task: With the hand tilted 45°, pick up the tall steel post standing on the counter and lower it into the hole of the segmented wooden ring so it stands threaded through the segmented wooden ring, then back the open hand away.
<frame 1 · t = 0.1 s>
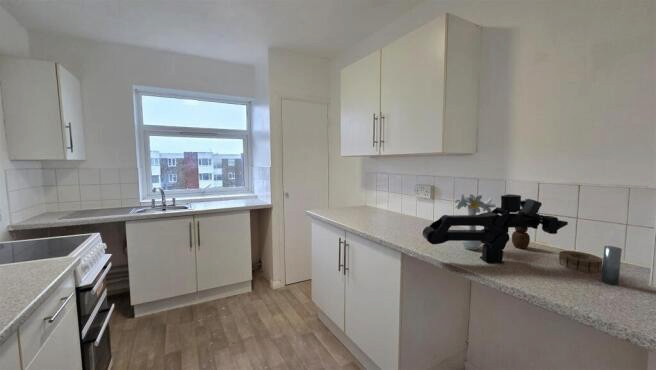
hand: (557, 220, 112), 17 cm above the worktop, tool horizontal, fingers open, 9 cm apart
wooden figurine: (520, 248, 129), on the worktop
flower vase: (471, 247, 131), on the worktop
segmented wooden ring: (579, 266, 107), on the worktop
tall steel post: (609, 282, 93), on the worktop
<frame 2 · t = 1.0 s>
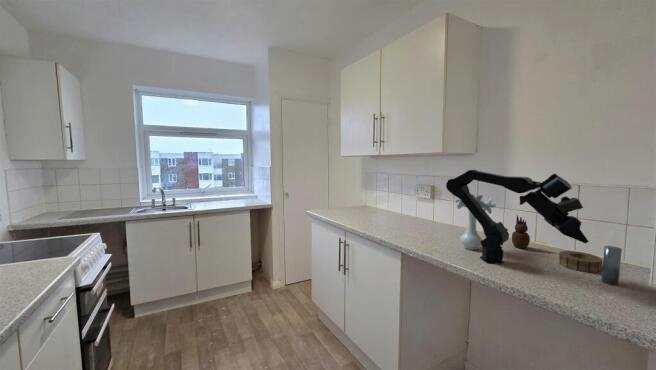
hand: (581, 238, 96), 14 cm above the worktop, tool tilted 45°, fingers open, 9 cm apart
nothing on the worktop moved.
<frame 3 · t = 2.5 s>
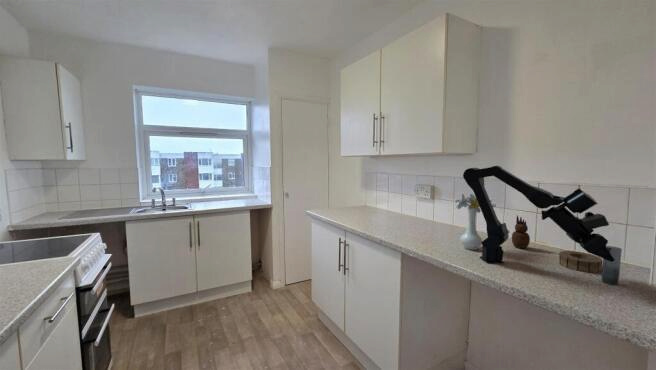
hand: (606, 256, 93), 9 cm above the worktop, tool tilted 45°, fingers open, 9 cm apart
nothing on the worktop moved.
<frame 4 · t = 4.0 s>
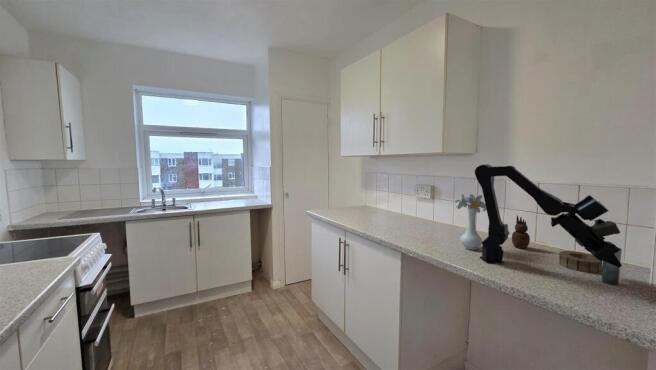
hand: (617, 264, 92), 7 cm above the worktop, tool tilted 45°, fingers closed on tall steel post, 4 cm apart
tall steel post: (609, 282, 93), on the worktop, touching gripper
everything else where it was.
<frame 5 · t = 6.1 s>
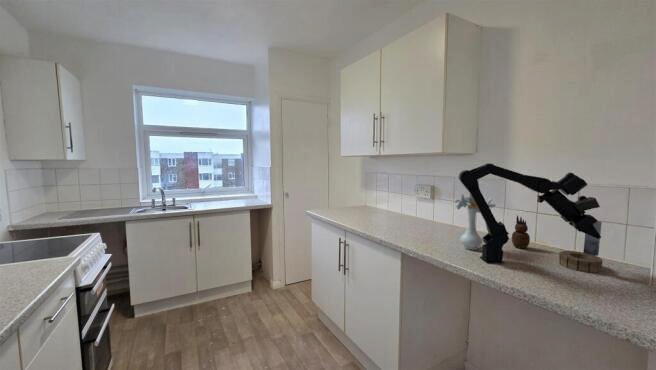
hand: (597, 236, 100), 13 cm above the worktop, tool tilted 45°, fingers closed on tall steel post, 4 cm apart
tall steel post: (590, 253, 101), point 7 cm above the worktop, touching gripper
everything else where it was.
when the fingers open (8 cm above the worktop, at t = 8.2 s): tall steel post drops 1 cm, resting in segmented wooden ring.
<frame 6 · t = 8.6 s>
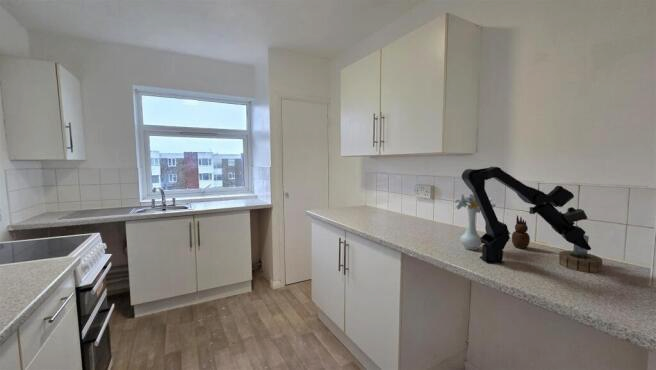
hand: (585, 246, 106), 8 cm above the worktop, tool tilted 45°, fingers open, 8 cm apart
tall steel post: (579, 266, 107), resting in segmented wooden ring
everything else where it was.
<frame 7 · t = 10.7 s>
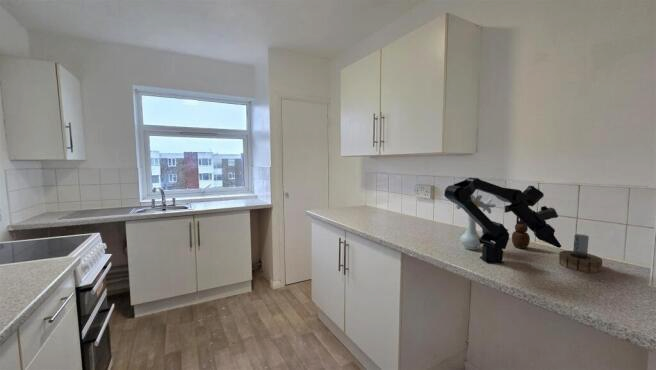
hand: (557, 243, 110), 8 cm above the worktop, tool tilted 45°, fingers open, 9 cm apart
nothing on the worktop moved.
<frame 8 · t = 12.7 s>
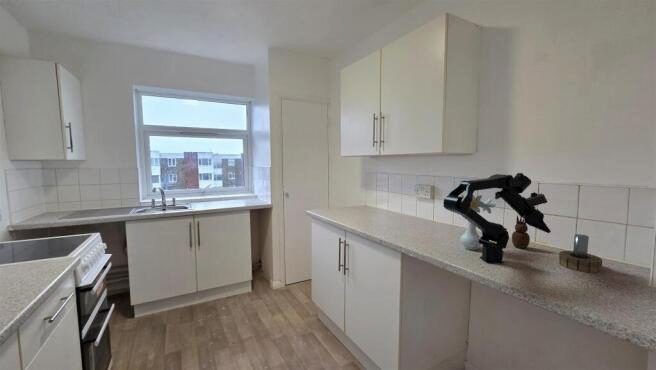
hand: (546, 229, 110), 14 cm above the worktop, tool tilted 45°, fingers open, 9 cm apart
nothing on the worktop moved.
at the end: tall steel post 0.0 cm off-centre on the segmented wooden ring, point 0.0 cm above the segmented wooden ring's base; tall steel post tilted 0°; the gripper is holding nothing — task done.
